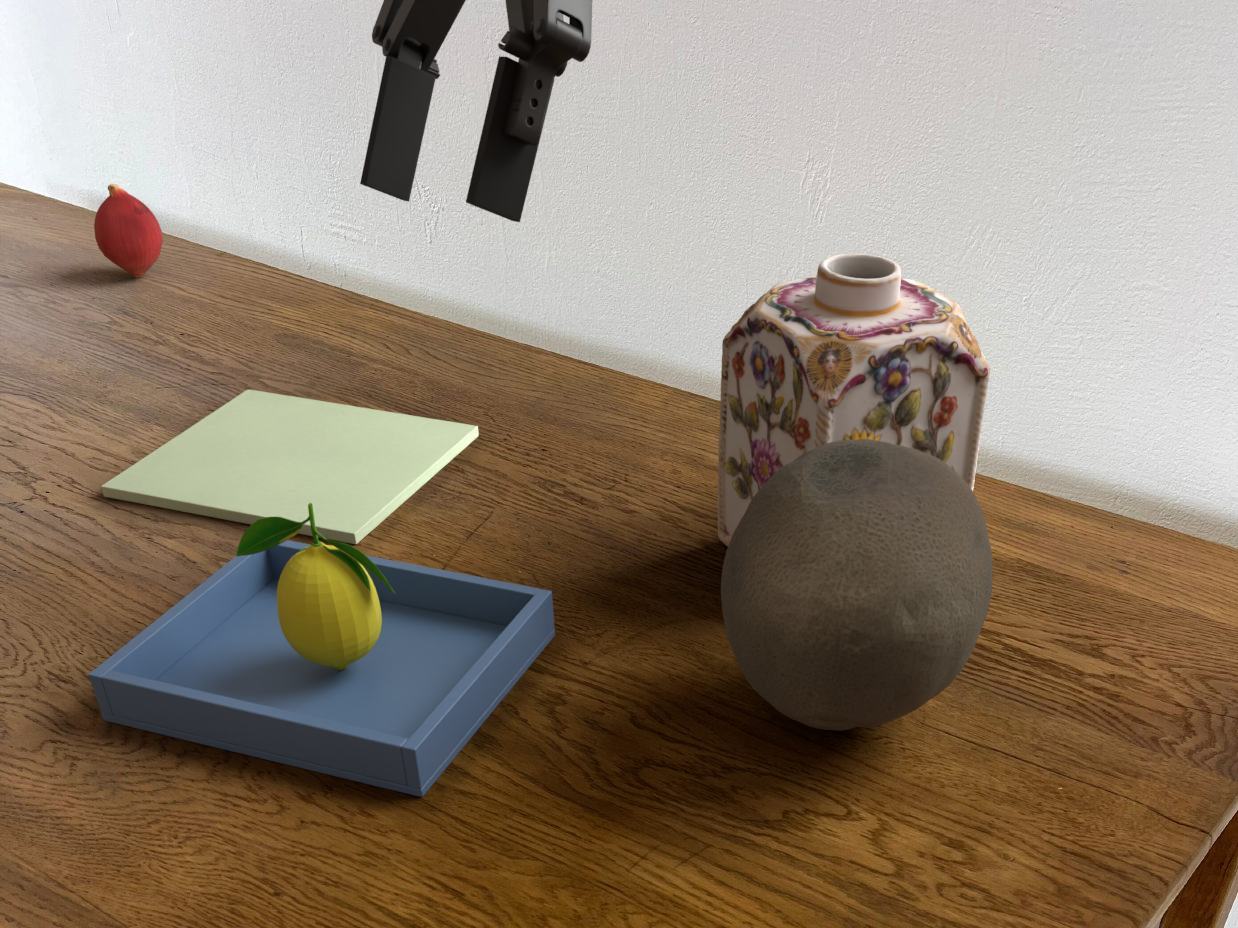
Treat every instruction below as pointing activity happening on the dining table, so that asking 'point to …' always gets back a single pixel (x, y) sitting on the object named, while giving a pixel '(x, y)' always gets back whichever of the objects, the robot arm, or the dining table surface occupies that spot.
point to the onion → (127, 232)
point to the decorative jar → (845, 375)
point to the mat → (295, 464)
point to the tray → (330, 672)
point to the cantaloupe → (857, 583)
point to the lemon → (321, 593)
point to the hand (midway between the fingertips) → (434, 203)
